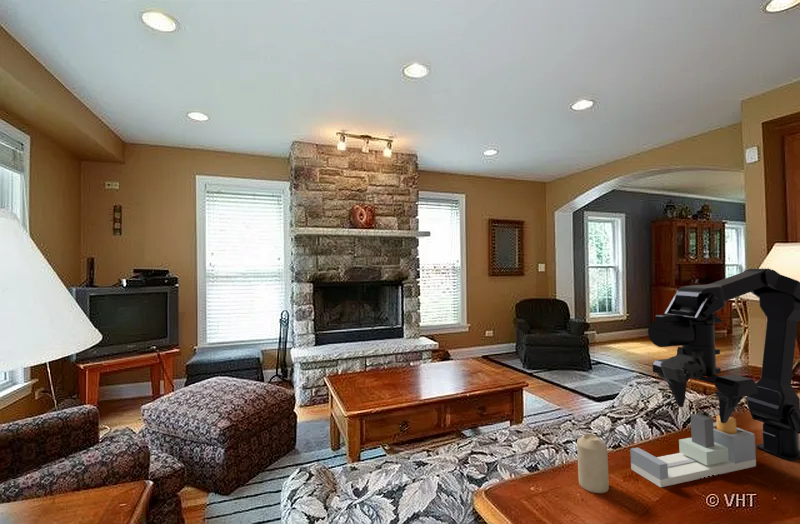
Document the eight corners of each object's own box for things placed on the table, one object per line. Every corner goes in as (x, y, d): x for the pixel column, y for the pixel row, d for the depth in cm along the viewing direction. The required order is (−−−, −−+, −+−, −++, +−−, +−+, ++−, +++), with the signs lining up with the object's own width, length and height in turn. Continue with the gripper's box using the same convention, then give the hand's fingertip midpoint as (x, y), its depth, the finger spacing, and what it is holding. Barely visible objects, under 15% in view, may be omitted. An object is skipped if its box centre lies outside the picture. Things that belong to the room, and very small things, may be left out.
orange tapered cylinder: (724, 438, 86) (723, 414, 86) (741, 444, 83) (740, 420, 83) (713, 440, 85) (712, 416, 85) (729, 447, 82) (728, 422, 82)
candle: (613, 494, 73) (610, 443, 73) (582, 492, 74) (580, 442, 74) (603, 478, 79) (601, 431, 79) (575, 476, 80) (573, 430, 80)
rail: (721, 451, 88) (720, 421, 88) (756, 466, 81) (754, 433, 81) (631, 469, 82) (629, 437, 82) (660, 487, 75) (658, 452, 75)
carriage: (700, 448, 86) (698, 409, 86) (728, 461, 80) (726, 419, 80) (679, 452, 84) (677, 413, 84) (707, 465, 79) (705, 423, 79)
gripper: (632, 338, 90) (635, 403, 89) (715, 356, 71) (718, 438, 71) (669, 335, 92) (672, 398, 92) (757, 351, 74) (761, 430, 74)
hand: (701, 414), depth 82 cm, fingers open, 9 cm apart
